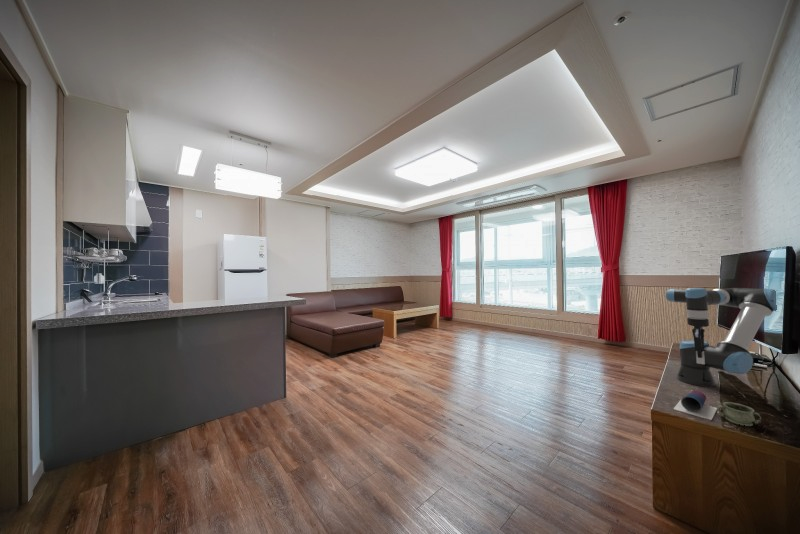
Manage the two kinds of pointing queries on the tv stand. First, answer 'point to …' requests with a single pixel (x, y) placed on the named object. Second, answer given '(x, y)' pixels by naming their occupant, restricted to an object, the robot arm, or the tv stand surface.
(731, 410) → the vessel
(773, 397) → the tv stand surface
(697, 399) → the cup
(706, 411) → the mat
